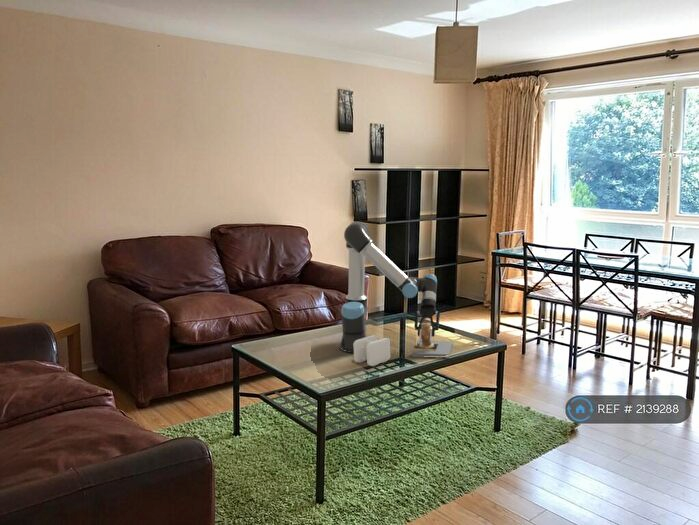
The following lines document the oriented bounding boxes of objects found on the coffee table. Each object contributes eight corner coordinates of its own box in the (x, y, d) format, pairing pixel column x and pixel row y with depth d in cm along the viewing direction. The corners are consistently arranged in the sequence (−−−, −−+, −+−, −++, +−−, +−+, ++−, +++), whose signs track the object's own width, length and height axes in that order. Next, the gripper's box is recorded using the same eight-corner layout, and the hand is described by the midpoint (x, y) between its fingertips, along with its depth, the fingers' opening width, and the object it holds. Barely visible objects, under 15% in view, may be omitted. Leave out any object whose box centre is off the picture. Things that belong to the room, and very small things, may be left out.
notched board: (412, 357, 283) (411, 353, 282) (418, 344, 302) (417, 340, 301) (449, 358, 278) (449, 354, 278) (452, 345, 297) (452, 341, 297)
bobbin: (418, 348, 288) (417, 325, 286) (420, 344, 295) (419, 321, 293) (432, 349, 286) (431, 325, 284) (434, 344, 293) (433, 321, 291)
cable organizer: (368, 368, 270) (367, 344, 268) (353, 363, 278) (352, 340, 276) (391, 360, 280) (390, 337, 278) (376, 355, 288) (375, 333, 286)
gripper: (446, 305, 300) (444, 345, 287) (412, 305, 304) (408, 344, 291) (444, 297, 294) (442, 338, 281) (410, 297, 298) (406, 337, 285)
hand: (425, 341), depth 286 cm, fingers closed on bobbin, 4 cm apart
